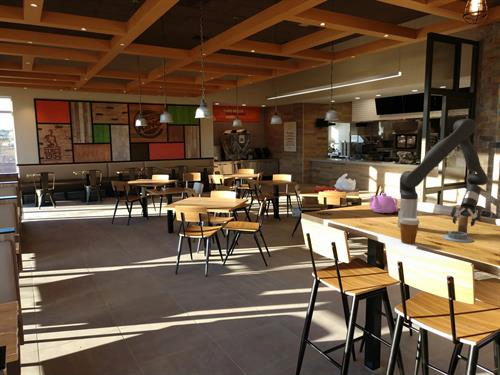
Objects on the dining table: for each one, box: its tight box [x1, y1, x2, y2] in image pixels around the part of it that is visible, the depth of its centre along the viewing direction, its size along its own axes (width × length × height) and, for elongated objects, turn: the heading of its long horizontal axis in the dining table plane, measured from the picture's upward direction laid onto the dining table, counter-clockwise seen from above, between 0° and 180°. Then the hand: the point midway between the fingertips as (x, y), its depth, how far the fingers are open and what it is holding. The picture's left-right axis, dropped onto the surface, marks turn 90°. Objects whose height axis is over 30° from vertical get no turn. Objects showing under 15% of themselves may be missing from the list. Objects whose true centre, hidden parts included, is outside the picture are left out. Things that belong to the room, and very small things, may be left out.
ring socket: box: [441, 230, 474, 244], centre depth 201 cm, size 14×14×3 cm
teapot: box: [369, 192, 399, 214], centre depth 278 cm, size 22×22×14 cm
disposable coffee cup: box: [399, 217, 420, 245], centre depth 193 cm, size 10×10×12 cm
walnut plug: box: [457, 216, 469, 234], centre depth 212 cm, size 4×4×10 cm
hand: (462, 224), depth 211 cm, fingers open, 8 cm apart
